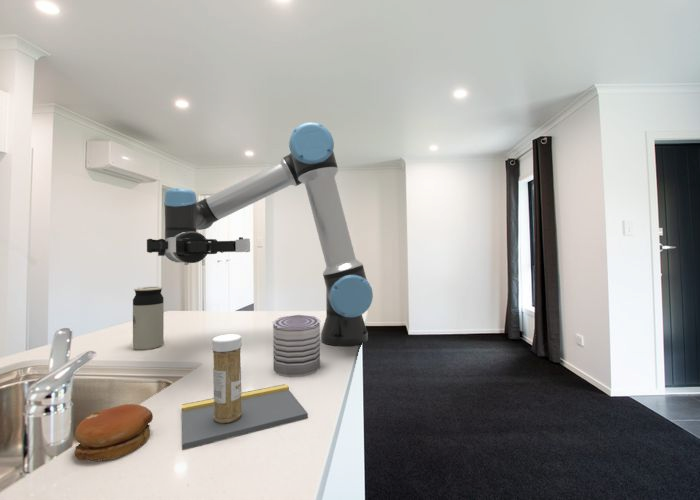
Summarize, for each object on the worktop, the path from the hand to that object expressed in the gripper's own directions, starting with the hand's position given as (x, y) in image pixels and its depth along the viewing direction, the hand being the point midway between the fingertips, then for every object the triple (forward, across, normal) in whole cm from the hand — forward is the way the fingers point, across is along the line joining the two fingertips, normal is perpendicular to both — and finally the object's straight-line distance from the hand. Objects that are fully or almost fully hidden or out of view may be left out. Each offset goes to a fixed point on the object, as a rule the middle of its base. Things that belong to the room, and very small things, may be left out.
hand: (213, 244), depth 62 cm
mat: (+8, -2, -30) cm, 31 cm away
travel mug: (-51, +6, -30) cm, 59 cm away
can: (-6, -21, -30) cm, 37 cm away
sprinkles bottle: (+10, 0, -29) cm, 31 cm away
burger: (+5, +16, -30) cm, 34 cm away
